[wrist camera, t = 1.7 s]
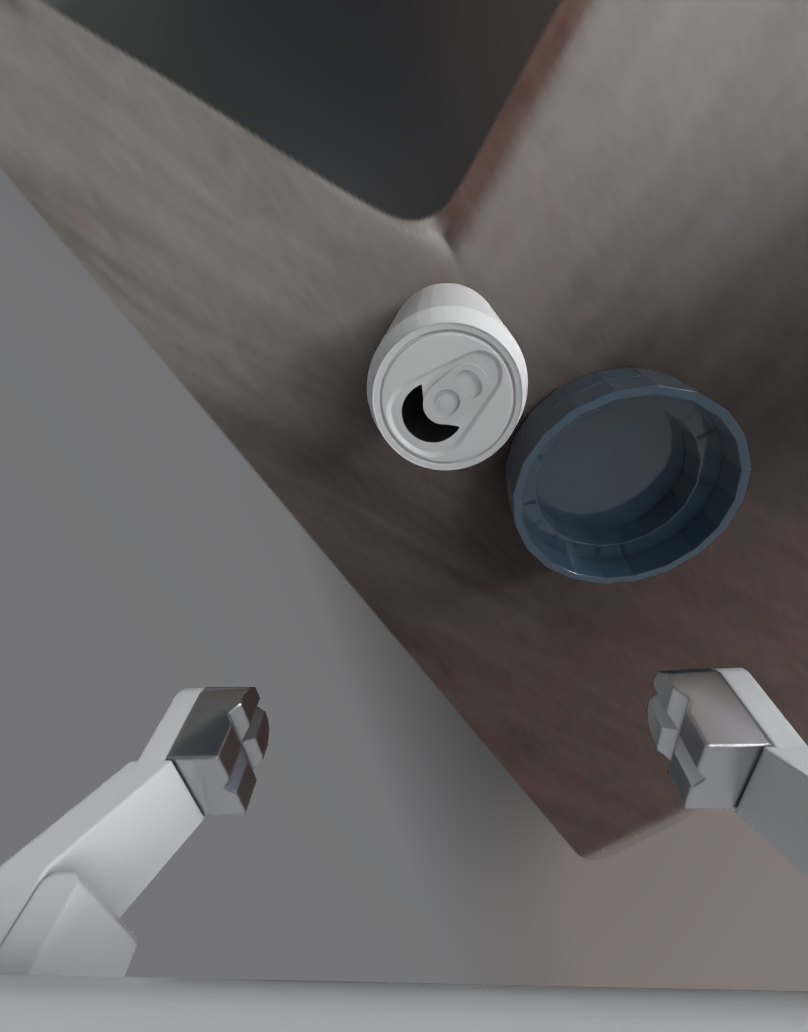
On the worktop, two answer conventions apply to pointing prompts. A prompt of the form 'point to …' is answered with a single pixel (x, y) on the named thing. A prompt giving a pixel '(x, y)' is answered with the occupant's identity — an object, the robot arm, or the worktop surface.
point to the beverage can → (447, 379)
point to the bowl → (625, 475)
